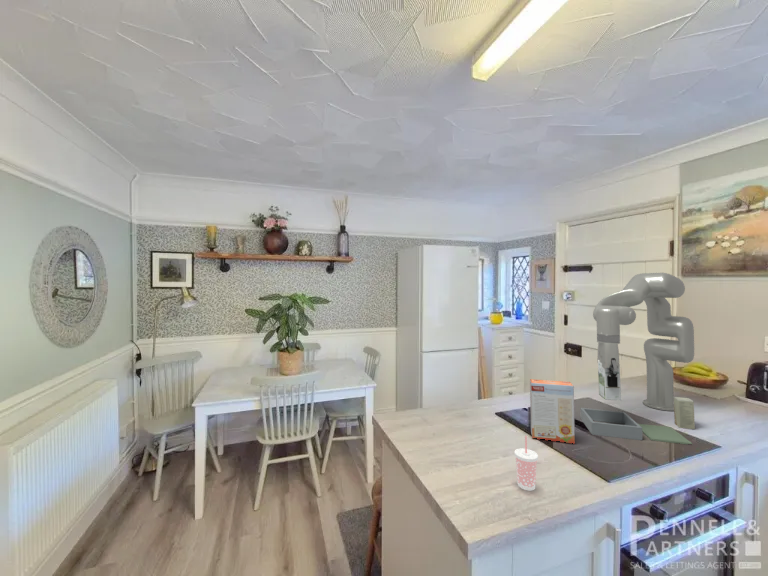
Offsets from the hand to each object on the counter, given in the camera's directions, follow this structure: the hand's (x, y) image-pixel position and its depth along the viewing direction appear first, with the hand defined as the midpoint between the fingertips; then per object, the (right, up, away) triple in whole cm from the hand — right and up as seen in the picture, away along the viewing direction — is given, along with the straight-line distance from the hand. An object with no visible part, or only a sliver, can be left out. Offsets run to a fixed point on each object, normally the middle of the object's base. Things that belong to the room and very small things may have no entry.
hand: (609, 383), depth 127 cm
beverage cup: (-49, -18, -37) cm, 64 cm away
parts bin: (0, -18, 0) cm, 18 cm away
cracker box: (-27, -18, -8) cm, 34 cm away
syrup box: (0, -6, 0) cm, 6 cm away
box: (+31, -18, +1) cm, 35 cm away
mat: (+16, -17, -6) cm, 24 cm away
